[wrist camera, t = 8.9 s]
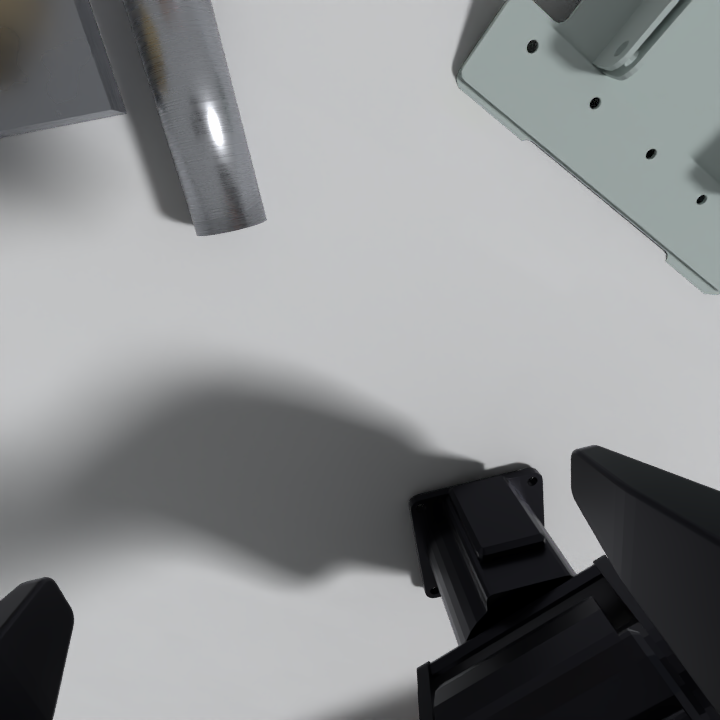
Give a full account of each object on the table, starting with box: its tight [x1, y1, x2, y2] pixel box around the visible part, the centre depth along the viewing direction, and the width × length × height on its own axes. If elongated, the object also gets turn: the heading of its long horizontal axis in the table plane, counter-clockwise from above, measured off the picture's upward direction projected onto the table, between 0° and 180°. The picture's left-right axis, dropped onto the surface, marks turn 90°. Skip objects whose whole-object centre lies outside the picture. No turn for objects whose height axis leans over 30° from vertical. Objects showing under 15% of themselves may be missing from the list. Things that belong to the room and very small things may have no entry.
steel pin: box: [123, 0, 267, 236], centre depth 15 cm, size 8×2×2 cm, turn 10°
